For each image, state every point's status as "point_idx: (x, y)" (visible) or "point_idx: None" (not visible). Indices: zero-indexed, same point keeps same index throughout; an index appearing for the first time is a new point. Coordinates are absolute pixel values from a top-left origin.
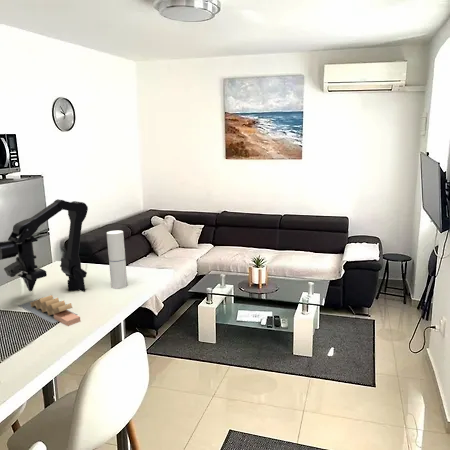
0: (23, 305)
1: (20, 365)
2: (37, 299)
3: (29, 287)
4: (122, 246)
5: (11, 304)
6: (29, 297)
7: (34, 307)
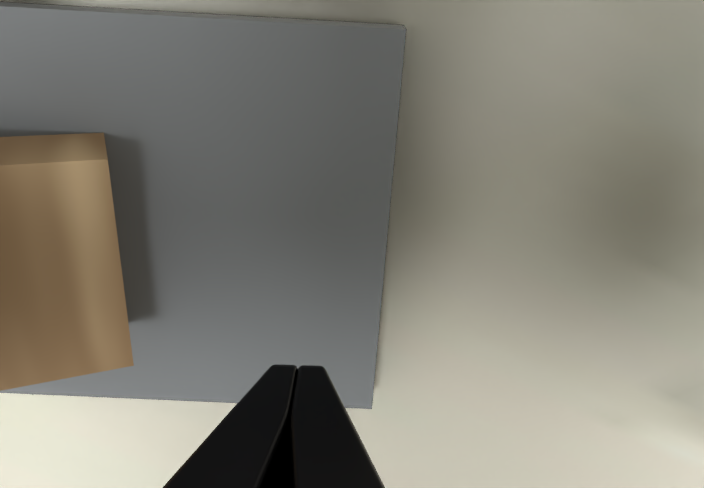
0: (309, 89)
1: None
2: (374, 350)
3: (211, 441)
4: None
5: (659, 18)
6: (634, 342)
7: None
